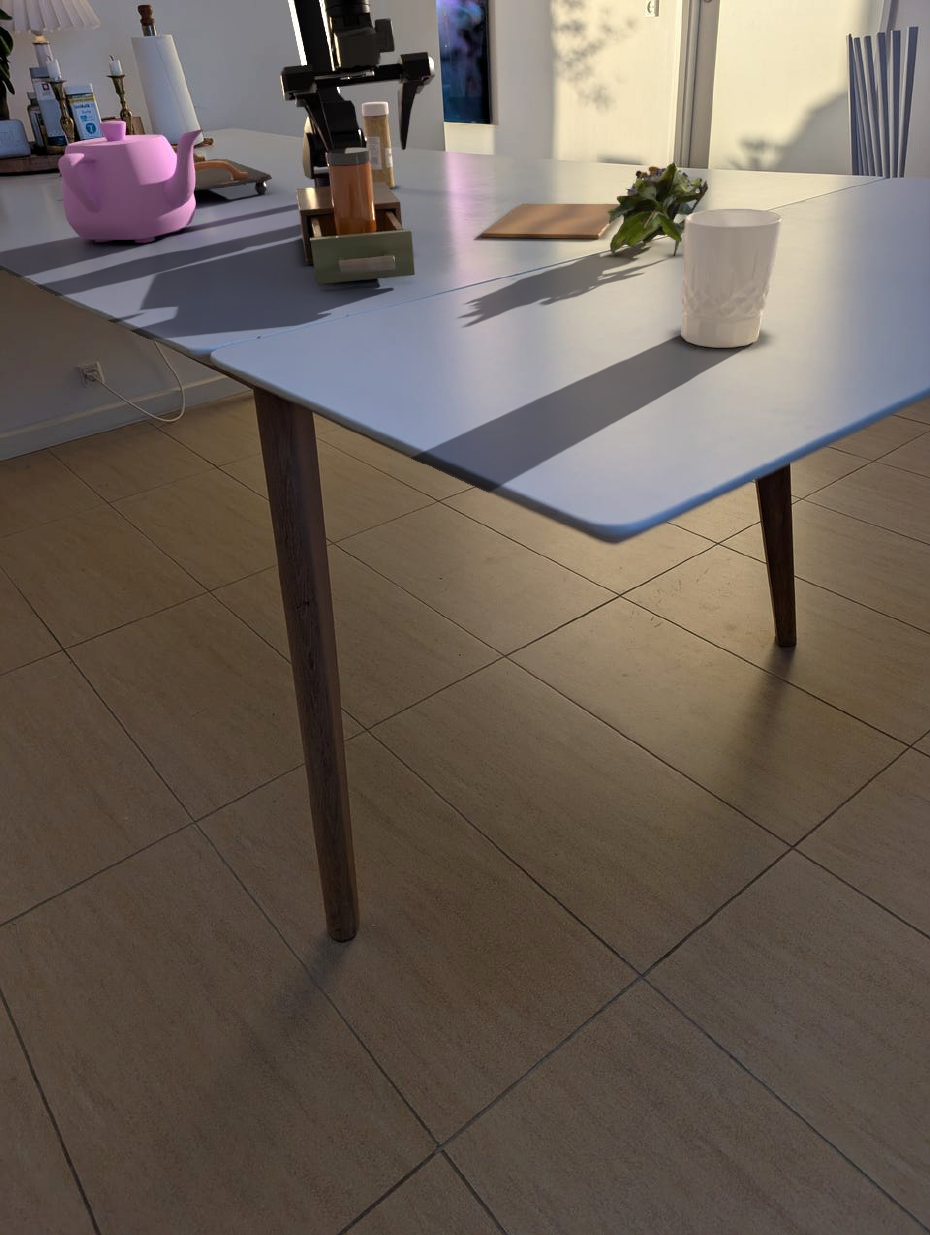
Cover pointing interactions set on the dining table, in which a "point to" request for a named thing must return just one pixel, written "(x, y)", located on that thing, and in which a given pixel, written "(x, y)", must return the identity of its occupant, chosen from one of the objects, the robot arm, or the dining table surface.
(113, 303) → the dining table surface
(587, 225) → the wooden cutting board
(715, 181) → the dining table surface
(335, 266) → the drawer
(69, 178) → the teapot
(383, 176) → the sprinkles bottle
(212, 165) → the serving tray
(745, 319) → the white cup
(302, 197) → the cabinet
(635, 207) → the green leafy plant
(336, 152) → the spice bottle
